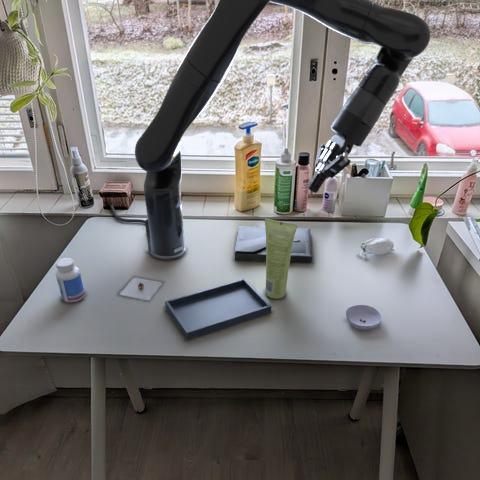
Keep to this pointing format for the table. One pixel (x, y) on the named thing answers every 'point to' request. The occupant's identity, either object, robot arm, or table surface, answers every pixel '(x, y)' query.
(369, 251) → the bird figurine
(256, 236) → the picture frame
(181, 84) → the robot arm
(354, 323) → the small lavender dish
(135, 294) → the square paper sheet
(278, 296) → the tube
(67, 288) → the pill bottle
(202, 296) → the tray
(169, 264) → the table surface
